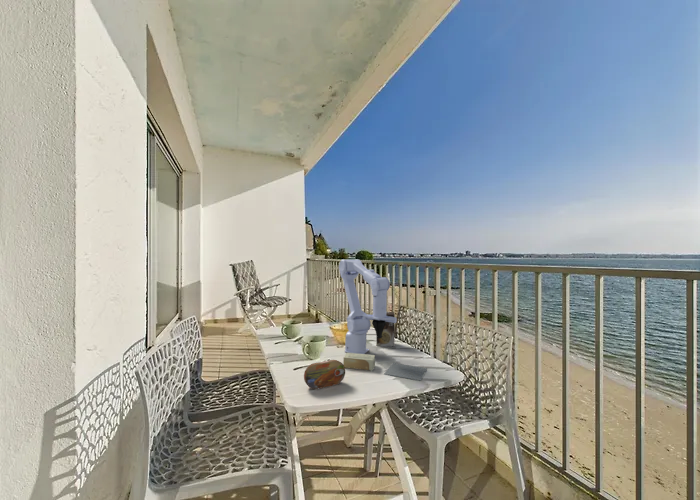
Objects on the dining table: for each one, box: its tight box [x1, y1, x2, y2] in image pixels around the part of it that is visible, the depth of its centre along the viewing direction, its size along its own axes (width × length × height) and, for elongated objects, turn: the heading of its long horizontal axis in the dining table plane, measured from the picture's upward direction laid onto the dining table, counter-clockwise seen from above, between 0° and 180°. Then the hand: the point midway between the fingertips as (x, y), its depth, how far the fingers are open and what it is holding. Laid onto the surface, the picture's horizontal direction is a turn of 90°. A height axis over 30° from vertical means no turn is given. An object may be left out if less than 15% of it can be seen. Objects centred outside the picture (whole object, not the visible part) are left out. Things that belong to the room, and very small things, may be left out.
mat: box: [383, 362, 428, 382], centre depth 126 cm, size 14×13×1 cm
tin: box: [303, 359, 346, 390], centre depth 112 cm, size 15×3×8 cm, turn 118°
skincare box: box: [342, 352, 376, 372], centre depth 130 cm, size 6×4×12 cm
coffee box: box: [375, 311, 396, 347], centre depth 160 cm, size 9×6×16 cm
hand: (379, 337), depth 135 cm, fingers closed
